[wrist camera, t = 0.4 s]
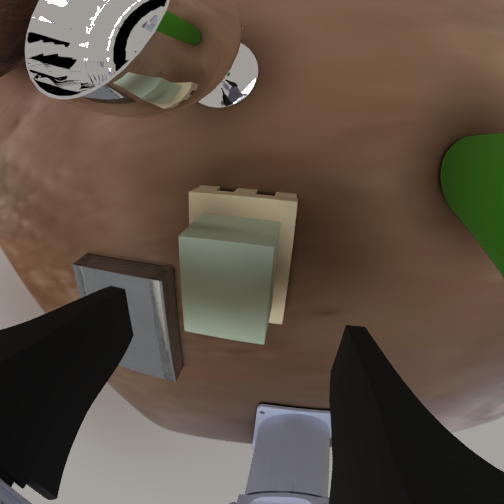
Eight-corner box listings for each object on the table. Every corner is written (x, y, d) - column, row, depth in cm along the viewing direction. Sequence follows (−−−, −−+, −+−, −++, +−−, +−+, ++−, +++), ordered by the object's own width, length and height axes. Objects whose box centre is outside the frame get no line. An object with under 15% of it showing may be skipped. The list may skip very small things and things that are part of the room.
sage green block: (284, 307, 21) (276, 362, 16) (201, 295, 21) (173, 343, 16) (298, 193, 17) (295, 222, 12) (200, 184, 18) (161, 209, 13)
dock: (183, 366, 25) (175, 382, 23) (109, 346, 26) (99, 358, 24) (173, 267, 21) (162, 281, 19) (87, 253, 22) (72, 264, 20)
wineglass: (157, 84, 16) (-6, 69, 5) (216, 14, 13) (101, -89, 2) (225, 138, 17) (93, 171, 6) (291, 66, 14) (263, -44, 3)
